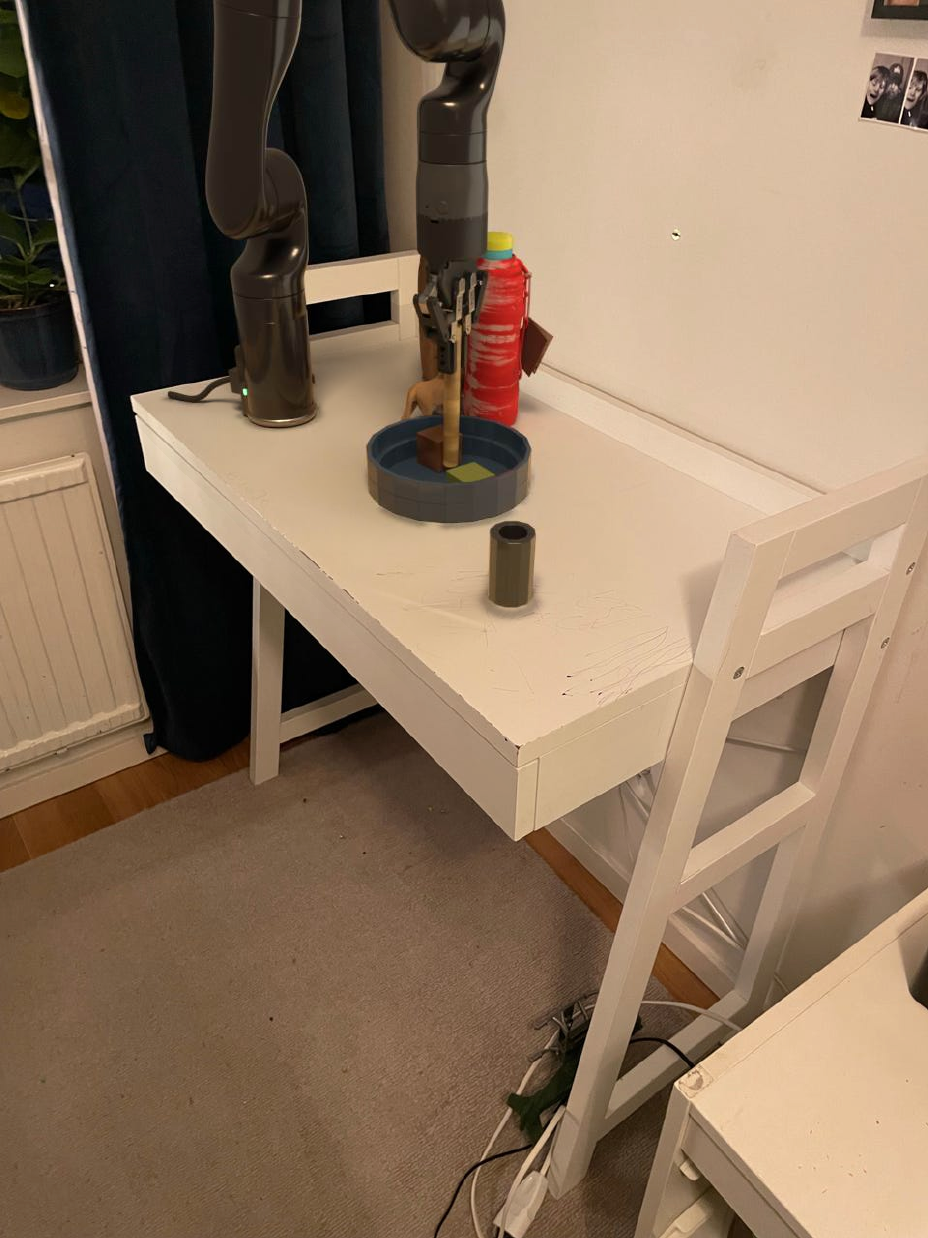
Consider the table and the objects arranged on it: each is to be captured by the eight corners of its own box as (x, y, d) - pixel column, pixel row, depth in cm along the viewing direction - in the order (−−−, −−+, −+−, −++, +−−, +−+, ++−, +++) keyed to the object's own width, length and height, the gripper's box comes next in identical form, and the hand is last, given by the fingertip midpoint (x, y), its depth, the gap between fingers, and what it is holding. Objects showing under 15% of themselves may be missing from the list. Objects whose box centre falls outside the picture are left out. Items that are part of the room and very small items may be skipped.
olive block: (445, 501, 108) (445, 470, 106) (473, 492, 110) (474, 461, 108) (466, 515, 106) (466, 483, 103) (494, 505, 108) (495, 474, 105)
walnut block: (416, 462, 117) (416, 432, 114) (440, 453, 119) (440, 423, 117) (438, 473, 114) (438, 442, 112) (462, 463, 117) (462, 433, 114)
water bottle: (535, 410, 132) (546, 223, 118) (550, 433, 126) (564, 238, 112) (452, 416, 130) (452, 226, 116) (463, 440, 124) (465, 242, 110)
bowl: (337, 503, 109) (334, 460, 106) (420, 442, 123) (419, 403, 120) (482, 544, 102) (483, 500, 99) (553, 475, 116) (556, 434, 113)
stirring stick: (439, 465, 113) (441, 325, 104) (447, 459, 115) (449, 321, 105) (453, 469, 113) (456, 328, 103) (461, 463, 114) (464, 324, 104)
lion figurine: (442, 401, 134) (442, 339, 129) (476, 408, 132) (477, 346, 127) (390, 440, 123) (388, 374, 118) (426, 448, 121) (425, 381, 116)
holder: (480, 606, 93) (482, 536, 88) (500, 585, 96) (502, 516, 91) (519, 618, 91) (523, 547, 86) (538, 596, 94) (542, 527, 89)
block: (479, 399, 135) (482, 256, 124) (428, 403, 134) (426, 258, 122) (463, 372, 144) (464, 236, 132) (415, 376, 143) (412, 238, 131)
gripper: (452, 191, 103) (452, 346, 113) (386, 215, 93) (392, 382, 103) (513, 198, 100) (508, 356, 110) (452, 224, 90) (451, 395, 100)
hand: (452, 368), depth 107 cm, fingers closed on stirring stick, 2 cm apart
